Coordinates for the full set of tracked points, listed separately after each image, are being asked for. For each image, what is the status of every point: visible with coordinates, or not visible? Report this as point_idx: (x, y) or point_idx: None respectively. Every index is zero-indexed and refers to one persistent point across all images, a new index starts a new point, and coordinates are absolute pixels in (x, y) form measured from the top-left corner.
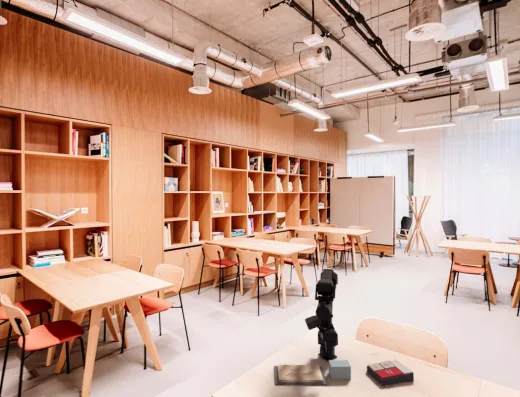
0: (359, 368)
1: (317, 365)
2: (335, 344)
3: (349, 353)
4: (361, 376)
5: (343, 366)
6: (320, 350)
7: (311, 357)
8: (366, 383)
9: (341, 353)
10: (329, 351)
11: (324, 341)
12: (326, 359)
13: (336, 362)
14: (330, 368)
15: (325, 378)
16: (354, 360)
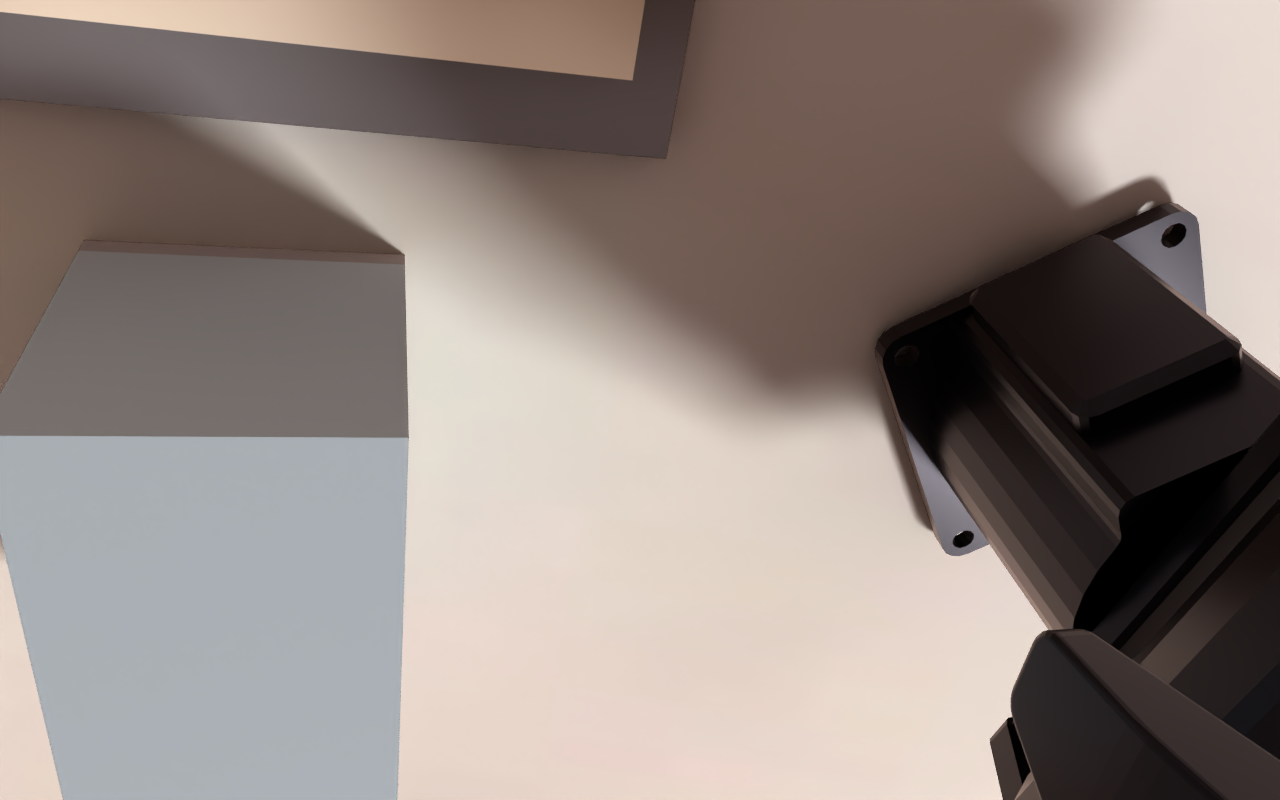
0: (517, 775)
1: (610, 35)
2: (1013, 782)
3: (988, 727)
4: None
5: (57, 718)
6: (1159, 316)
7: (1160, 5)
8: (31, 791)
9: (1038, 626)
10: (1005, 511)
11: (1196, 621)
12: (909, 340)
13: (278, 602)
14: (171, 360)
15: (25, 93)
16: (768, 753)
